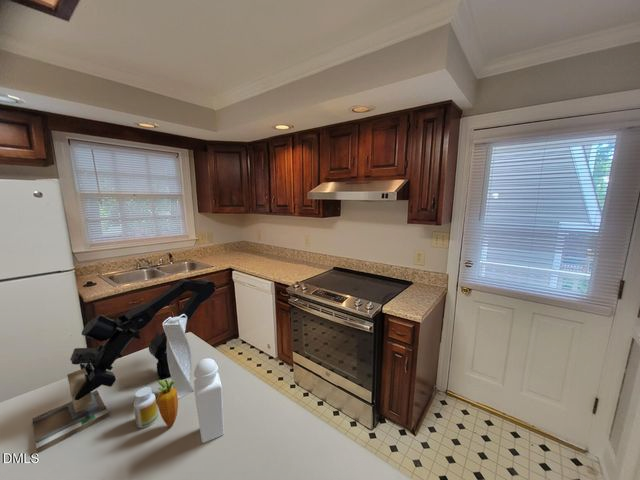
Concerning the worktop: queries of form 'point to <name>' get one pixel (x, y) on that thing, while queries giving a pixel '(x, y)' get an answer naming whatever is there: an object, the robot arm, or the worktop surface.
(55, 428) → the board
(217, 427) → the white square bottle
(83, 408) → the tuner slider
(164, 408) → the carrot
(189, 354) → the skyscraper
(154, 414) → the supplement bottle
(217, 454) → the worktop surface
